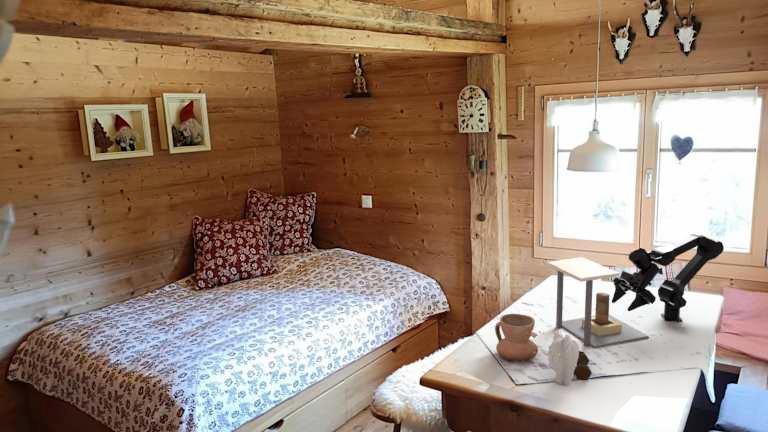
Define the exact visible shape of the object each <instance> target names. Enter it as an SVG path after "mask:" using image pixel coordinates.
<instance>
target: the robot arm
mask: <svg viewBox="0 0 768 432" xmlns="http://www.w3.org/2000/svg"><path fill="white" fill-rule="evenodd" d="M694 248H696V253H695V254H694V255H693V256H692V258H691V259H690V260H689V261H688V262H687V263H686V264H685V266H683V268H682V269H681V270H680V271H679V272H678V274H677V275H676V276H675V277H674V278H673V279H667V278H666V279H664V281H663V282H662V284H660V285H659V287H658V289H657V296H658V297H659V302H663V303H664V307H663V313H660V316H661V317H662V318H663V319H664V321H666V322H667V321H669V322H670V321H671V322H674V321H675V322H682V321H683V318H682V317H681V309H683V307H686V305H687V300H686V299H685V297H683V296H684V294H685V289H686V286H687V285H688V284H689V283H690V282H691V280H692V279H693V278H694V277H695V276H696V275H697V274H698V272H699V271H700V270H701V269H702V268H703V267H704V266H705V265H706V263H707V262H709V261H712V260H714V259H715V260H716V258H718V257H719V256H720V255H722V253H723V252H724V250H725V249H724V244H723V242H722V241H721V240H720V241H719V240H716V239H712V238H710V237H707V236H705V235H703V234H700V233H693V232H692V234H690V235H689V236H687V237H685V238H683V239H680V240H679V241H677V242H675V243H672V244H670V245H667V246H659V247H655V248H653V249H651V251H647V250H646V249H645V248H643V247H639V248H638V249H635V250H633V251H631V252H630V253H629V254H628V260H629V262H631V263H632V264H633V265H634V267H636V268H637V269H638V272H636V271H634V272H633V273H630V272H627V271H625V270H622V271H621V274H620V275H619V276H620V277H619V276H616V277H614V278H613V280H612V282H613V285H614V289H615V290H614V294H613V296H612V299H611V303H612V304H615V303H616V302H618V301H619V300H620V299H622V298H623V297H624V296H625V295H626V294H627V292H628V291H631V292H632V293H635V297H634V300H633V301H632V302H631V303H630V305H629V306H628V308H627V311H628V312H631V311H633V310H635V309H636V310H637V309H638V308H640V307H643V306H646V305H648V306H649V305H650V304H652V305H653V304H654V303H655V302H656V300H657V299H656V295H654V294H653V293H652V292H651V290H649V289H647V287H648V286H649V287H651V286H652V285H653V283H652V281H653V280H654V279H655V277H656V276H657V275H664V273H663V272H664V271H663V267H667V266H669V265H670V264H672V263H674V261H675V259H676V258H677V257H678V256H680V255H682V254H684V253H686V252H688V251H690V250H692V249H694ZM658 265H659V266H658Z"/></svg>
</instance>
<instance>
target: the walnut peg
mask: <svg viewBox="0 0 768 432" xmlns="http://www.w3.org/2000/svg"><path fill="white" fill-rule="evenodd" d="M609 315H610V294H609V293H606V292H597V293H596V295H595V315H594V316H595V323H596V324H598V325H599V326H602V325H607V324H608V319H609Z"/></svg>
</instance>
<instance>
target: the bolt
mask: <svg viewBox="0 0 768 432" xmlns="http://www.w3.org/2000/svg"><path fill="white" fill-rule="evenodd" d="M589 363H590V359H589V358H588V356H587V354H586V353H585V352H584V351H581V350H579V357H578V361H577V364H576V367H575V370H574V373H573V375H574V377H575V378H576V379H577V380H579V381H588V380H589V379H590V377H591V376H592V374H593V373H592V370H591V368H590V367H589V366H588V364H589Z"/></svg>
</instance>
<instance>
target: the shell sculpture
mask: <svg viewBox="0 0 768 432" xmlns="http://www.w3.org/2000/svg"><path fill="white" fill-rule="evenodd" d="M552 339H553V340H552V342H551V344H550V345H549V346H548V351H547V355H548V357H547V361H548V363H549V365H550V366H551V368H552V369H553V371H554V373H555V376H554V381H555V383H557V384H560V385H564V386H568V385H570V384H571V382H572V381H573V377H574V376H573V375H574V370H575V367H576V366H577V365H576V364H577V361H578V357H579V351H580V346H579V343H578V342H577V341H576V340H575V339H571V336H570V334H565V335H564V336H563V334H562V332H561V331H560V332H559V331H558V330H555V332H554V333H553V336H552Z"/></svg>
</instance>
